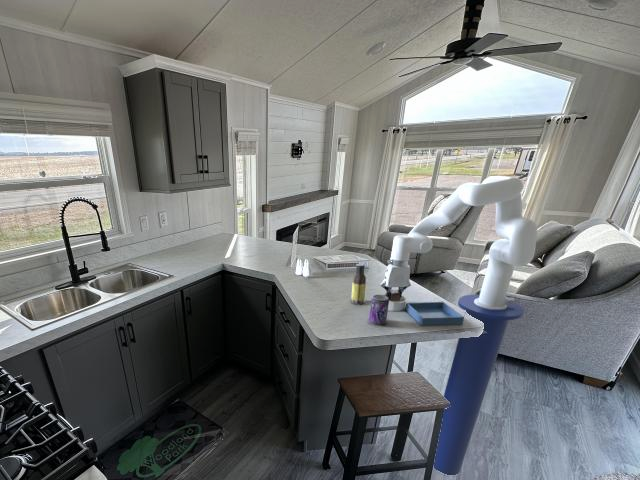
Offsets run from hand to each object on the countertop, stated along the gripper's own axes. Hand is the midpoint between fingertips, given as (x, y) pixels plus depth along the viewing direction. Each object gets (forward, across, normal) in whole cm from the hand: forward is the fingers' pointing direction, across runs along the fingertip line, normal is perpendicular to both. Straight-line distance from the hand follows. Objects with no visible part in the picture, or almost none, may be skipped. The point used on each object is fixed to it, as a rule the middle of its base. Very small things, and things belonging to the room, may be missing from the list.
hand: (393, 298), depth 157 cm
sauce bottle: (+4, -15, +6) cm, 17 cm away
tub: (+4, +13, -12) cm, 18 cm away
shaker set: (+4, -35, +48) cm, 60 cm away
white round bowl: (+4, 0, 0) cm, 4 cm away
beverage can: (+4, -13, -16) cm, 21 cm away
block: (0, 0, 0) cm, 0 cm away
